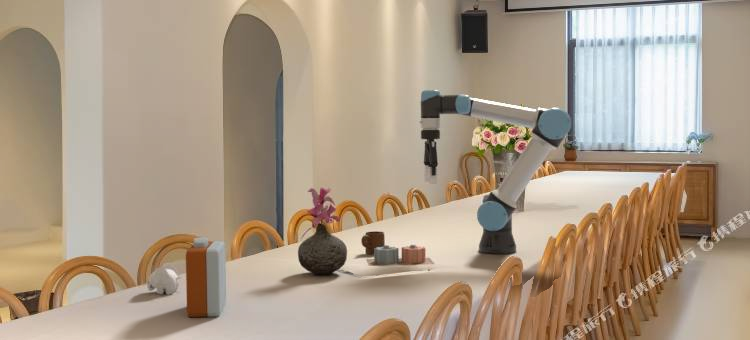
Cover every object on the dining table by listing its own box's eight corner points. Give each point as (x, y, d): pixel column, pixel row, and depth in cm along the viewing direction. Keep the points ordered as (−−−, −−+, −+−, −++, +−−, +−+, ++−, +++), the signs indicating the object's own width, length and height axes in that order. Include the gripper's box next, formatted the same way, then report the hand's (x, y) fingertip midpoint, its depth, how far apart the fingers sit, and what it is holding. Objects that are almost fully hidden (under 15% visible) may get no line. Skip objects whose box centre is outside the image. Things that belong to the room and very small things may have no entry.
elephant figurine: (148, 289, 252) (148, 262, 252) (186, 289, 252) (185, 261, 252) (139, 296, 243) (138, 267, 242) (177, 296, 243) (177, 267, 242)
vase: (353, 271, 281) (352, 187, 279) (335, 280, 264) (334, 191, 263) (310, 268, 286) (309, 186, 285) (289, 277, 270) (288, 190, 268)
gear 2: (423, 259, 299) (423, 245, 298) (426, 262, 290) (426, 249, 290) (400, 259, 298) (400, 246, 298) (403, 263, 289) (403, 249, 289)
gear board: (429, 260, 302) (429, 242, 301) (434, 267, 288) (434, 247, 287) (366, 262, 300) (366, 243, 299) (369, 268, 286) (368, 248, 285)
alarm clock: (196, 303, 232) (194, 233, 231) (226, 302, 233) (225, 233, 231) (186, 318, 213) (185, 243, 212) (219, 317, 214) (218, 242, 213)
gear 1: (391, 259, 299) (391, 245, 299) (402, 262, 291) (402, 249, 291) (370, 261, 295) (370, 247, 295) (381, 264, 287) (381, 250, 287)
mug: (370, 260, 305) (370, 235, 304) (354, 258, 309) (354, 234, 309) (388, 255, 314) (388, 232, 314) (373, 254, 319) (373, 230, 318)
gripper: (416, 129, 326) (417, 180, 327) (425, 129, 301) (425, 185, 303) (434, 129, 327) (435, 180, 328) (445, 129, 302) (445, 184, 303)
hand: (430, 182), depth 315 cm, fingers open, 13 cm apart
